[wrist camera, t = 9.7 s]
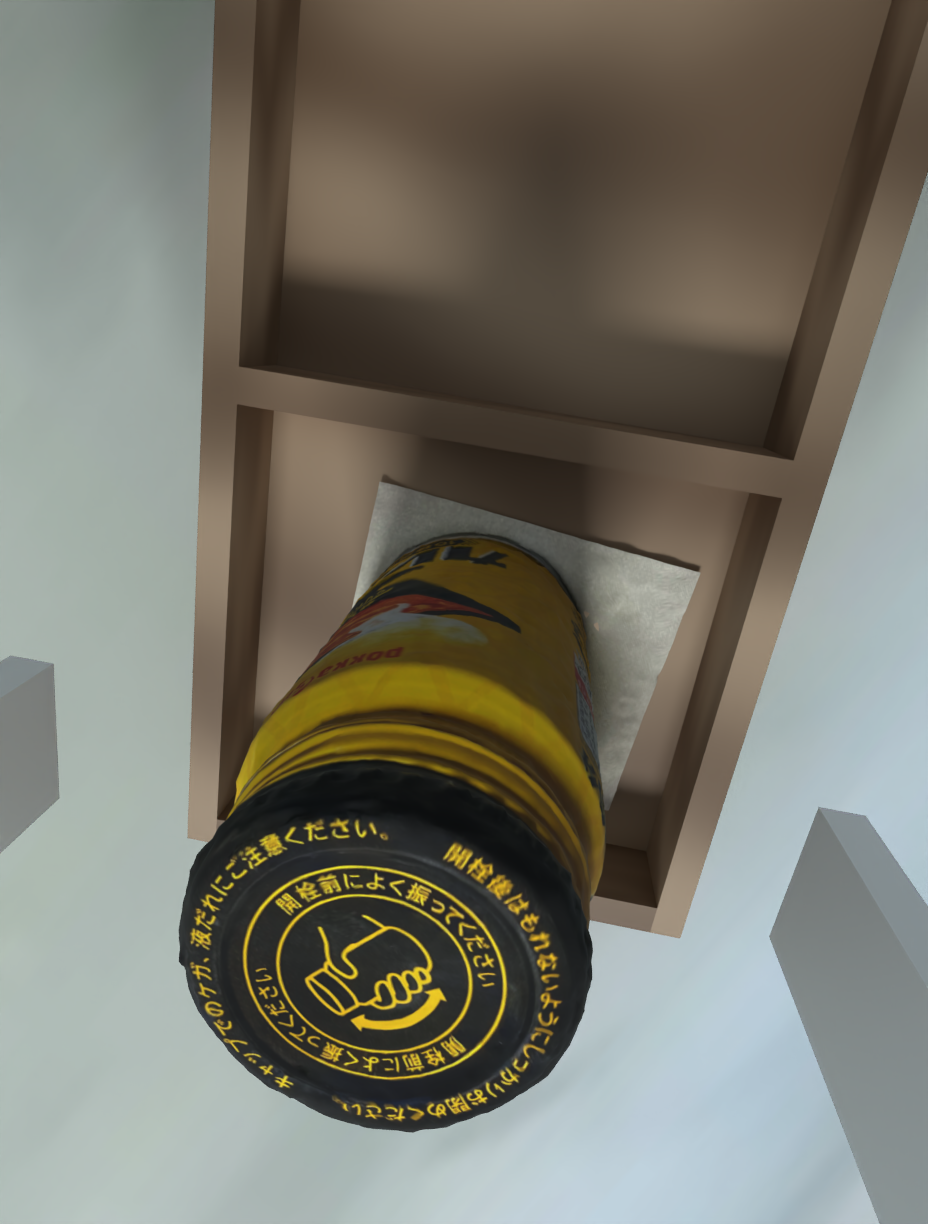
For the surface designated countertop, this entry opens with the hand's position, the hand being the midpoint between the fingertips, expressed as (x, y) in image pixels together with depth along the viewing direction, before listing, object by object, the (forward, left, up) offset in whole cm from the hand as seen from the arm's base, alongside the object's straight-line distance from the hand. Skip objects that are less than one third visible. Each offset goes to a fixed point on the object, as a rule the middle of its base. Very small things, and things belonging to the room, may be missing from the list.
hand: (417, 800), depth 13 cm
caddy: (-6, 0, -9) cm, 10 cm away
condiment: (0, +1, -8) cm, 8 cm away
